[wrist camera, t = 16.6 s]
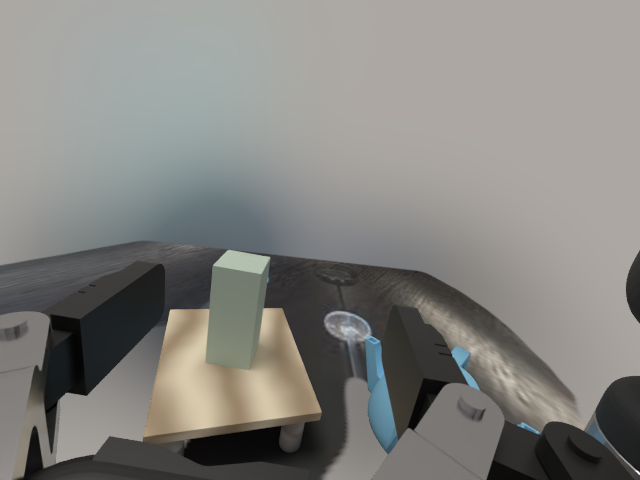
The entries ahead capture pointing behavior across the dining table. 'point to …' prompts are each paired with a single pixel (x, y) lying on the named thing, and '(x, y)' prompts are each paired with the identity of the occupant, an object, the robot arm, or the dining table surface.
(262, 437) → the dining table surface
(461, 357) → the teapot
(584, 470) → the robot arm
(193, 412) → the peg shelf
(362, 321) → the dining table surface
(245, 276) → the sage post
